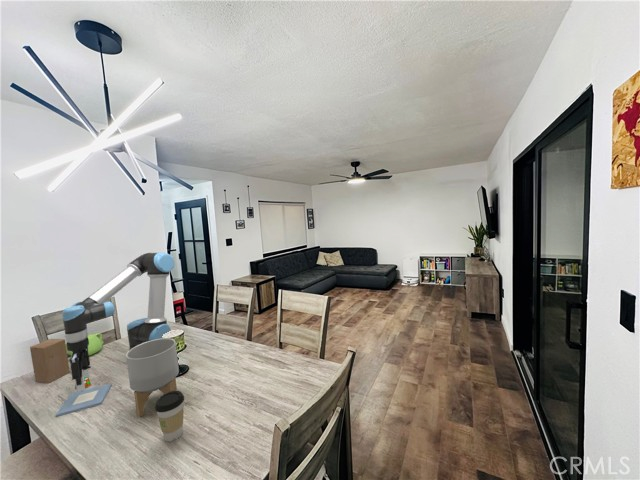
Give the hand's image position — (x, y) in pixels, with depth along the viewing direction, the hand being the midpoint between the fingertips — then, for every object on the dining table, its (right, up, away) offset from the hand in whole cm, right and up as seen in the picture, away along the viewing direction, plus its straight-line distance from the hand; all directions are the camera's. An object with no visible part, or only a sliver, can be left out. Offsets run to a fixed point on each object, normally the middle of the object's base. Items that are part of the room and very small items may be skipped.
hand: (83, 386), depth 124 cm
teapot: (-40, -5, +46) cm, 61 cm away
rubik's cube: (0, -1, 0) cm, 1 cm away
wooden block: (-37, -7, +22) cm, 44 cm away
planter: (+38, -5, -4) cm, 38 cm away
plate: (0, -7, +1) cm, 7 cm away
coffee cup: (+56, -6, -23) cm, 61 cm away
